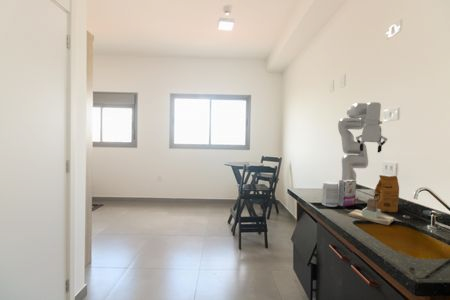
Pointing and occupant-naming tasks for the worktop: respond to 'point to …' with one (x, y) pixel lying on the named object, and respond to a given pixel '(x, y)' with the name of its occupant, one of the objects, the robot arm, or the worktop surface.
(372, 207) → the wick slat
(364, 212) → the pale green block
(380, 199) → the coffee package
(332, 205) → the supplement tub
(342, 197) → the candy bar box
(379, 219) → the maple board
